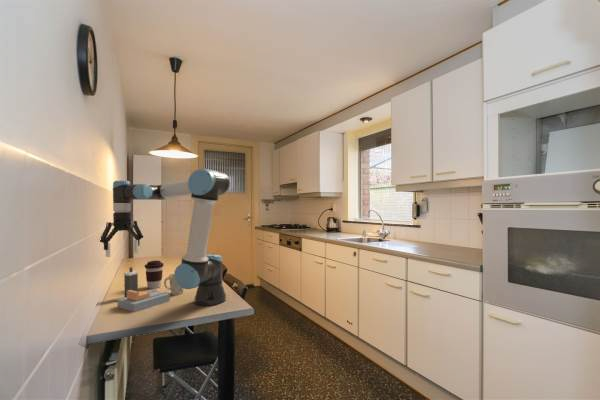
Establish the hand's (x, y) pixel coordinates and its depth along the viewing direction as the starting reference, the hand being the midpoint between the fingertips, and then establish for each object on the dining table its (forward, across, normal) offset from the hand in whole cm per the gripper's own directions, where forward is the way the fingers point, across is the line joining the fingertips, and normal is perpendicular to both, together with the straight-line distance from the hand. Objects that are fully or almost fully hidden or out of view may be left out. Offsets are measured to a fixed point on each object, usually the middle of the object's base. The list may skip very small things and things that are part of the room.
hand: (122, 254), depth 153 cm
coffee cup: (+24, -24, -12) cm, 36 cm away
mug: (+24, -23, +8) cm, 34 cm away
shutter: (+20, -1, +12) cm, 23 cm away
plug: (+24, -7, -5) cm, 25 cm away
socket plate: (+24, -4, +11) cm, 27 cm away
